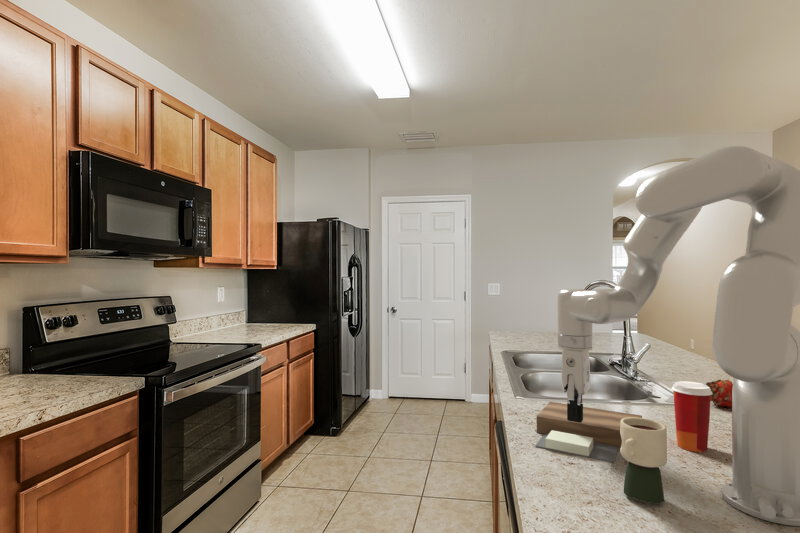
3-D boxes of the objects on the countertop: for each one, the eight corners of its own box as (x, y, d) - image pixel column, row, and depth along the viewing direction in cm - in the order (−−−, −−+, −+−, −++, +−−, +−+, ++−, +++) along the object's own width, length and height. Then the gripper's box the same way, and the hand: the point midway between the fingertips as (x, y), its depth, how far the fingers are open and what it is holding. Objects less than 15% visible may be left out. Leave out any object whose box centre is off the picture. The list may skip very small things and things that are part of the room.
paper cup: (704, 442, 102) (704, 381, 102) (719, 456, 95) (718, 390, 95) (666, 439, 104) (666, 379, 105) (677, 452, 97) (677, 387, 97)
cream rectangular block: (593, 437, 99) (593, 446, 99) (551, 430, 104) (551, 438, 104) (588, 446, 94) (588, 456, 94) (545, 438, 99) (545, 447, 99)
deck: (638, 451, 97) (638, 433, 97) (536, 432, 109) (536, 416, 109) (642, 431, 109) (642, 415, 109) (550, 416, 121) (550, 401, 121)
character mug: (638, 481, 83) (637, 412, 84) (679, 497, 78) (679, 423, 78) (606, 499, 77) (606, 424, 77) (649, 517, 71) (648, 436, 71)
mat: (613, 462, 92) (613, 461, 92) (535, 446, 100) (535, 445, 100) (618, 448, 99) (618, 446, 99) (545, 434, 108) (545, 433, 108)
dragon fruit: (708, 414, 127) (729, 414, 133) (737, 403, 122) (757, 403, 127) (691, 386, 132) (712, 387, 138) (718, 374, 126) (739, 375, 132)
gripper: (586, 348, 95) (587, 433, 95) (596, 338, 108) (597, 414, 108) (550, 345, 99) (551, 427, 99) (564, 336, 112) (564, 409, 112)
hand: (575, 420), depth 104 cm, fingers closed
